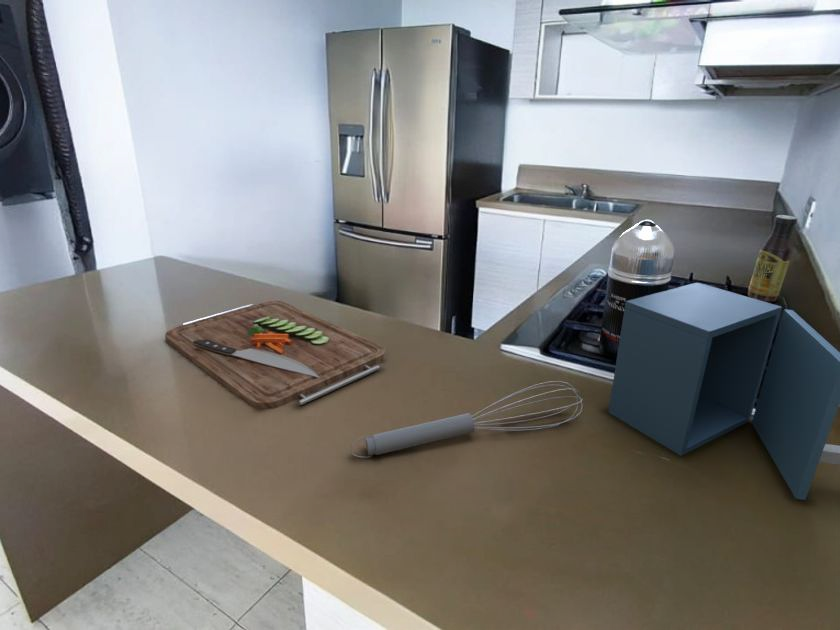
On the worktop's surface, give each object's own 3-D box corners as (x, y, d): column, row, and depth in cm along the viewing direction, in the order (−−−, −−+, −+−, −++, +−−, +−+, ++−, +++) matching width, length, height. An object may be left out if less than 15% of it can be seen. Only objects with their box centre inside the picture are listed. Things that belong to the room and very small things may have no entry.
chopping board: (402, 361, 92) (402, 345, 91) (271, 421, 74) (268, 403, 73) (272, 301, 121) (271, 289, 120) (156, 334, 103) (153, 321, 102)
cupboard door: (809, 430, 71) (849, 314, 64) (869, 511, 57) (928, 372, 50) (751, 422, 73) (783, 309, 66) (795, 498, 59) (842, 363, 52)
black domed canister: (635, 371, 88) (660, 229, 78) (585, 350, 95) (603, 219, 86) (666, 355, 93) (693, 221, 84) (617, 337, 101) (637, 212, 91)
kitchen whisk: (347, 444, 69) (345, 405, 66) (565, 407, 78) (570, 371, 75) (355, 473, 63) (352, 431, 61) (588, 429, 72) (594, 391, 70)
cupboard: (749, 421, 73) (782, 306, 67) (680, 456, 66) (709, 331, 59) (675, 385, 83) (697, 282, 76) (607, 412, 76) (625, 301, 69)
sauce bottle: (740, 295, 123) (760, 214, 116) (762, 293, 124) (784, 212, 117) (761, 304, 117) (784, 219, 110) (785, 302, 118) (809, 218, 111)
